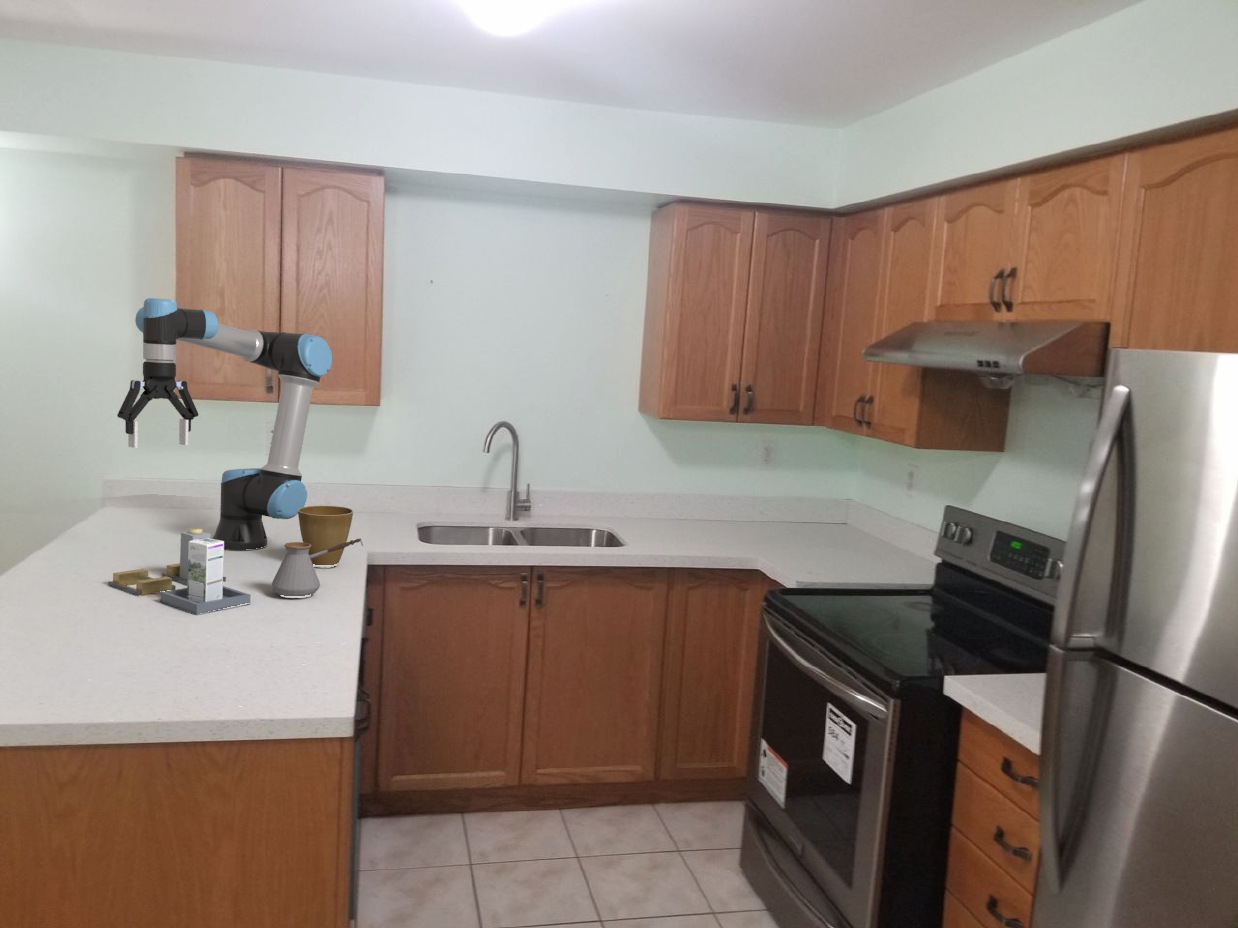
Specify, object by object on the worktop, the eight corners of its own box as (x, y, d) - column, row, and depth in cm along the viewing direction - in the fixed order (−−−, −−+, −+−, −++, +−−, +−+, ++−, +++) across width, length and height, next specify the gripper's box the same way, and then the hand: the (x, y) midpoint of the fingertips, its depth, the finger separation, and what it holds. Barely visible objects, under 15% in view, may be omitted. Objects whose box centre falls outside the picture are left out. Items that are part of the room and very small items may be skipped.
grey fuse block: (197, 576, 256) (198, 526, 255) (209, 579, 254) (210, 530, 252) (179, 578, 252) (181, 528, 251) (191, 582, 249) (193, 532, 248)
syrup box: (223, 600, 234) (225, 540, 232) (204, 605, 228) (207, 544, 227) (204, 596, 236) (206, 536, 234) (185, 601, 230) (187, 540, 229)
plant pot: (312, 557, 287) (314, 503, 286) (359, 563, 284) (362, 509, 283) (284, 567, 273) (287, 510, 271) (334, 574, 270) (337, 516, 268)
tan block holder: (146, 579, 249) (146, 568, 248) (175, 589, 242) (175, 577, 242) (108, 585, 241) (109, 573, 240) (137, 595, 234) (138, 583, 234)
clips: (196, 571, 260) (197, 560, 260) (225, 581, 254) (226, 569, 253) (162, 577, 252) (162, 565, 252) (191, 586, 246) (192, 575, 245)
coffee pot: (268, 600, 239) (271, 540, 237) (273, 589, 250) (276, 530, 248) (359, 602, 244) (363, 543, 242) (360, 591, 255) (364, 533, 253)
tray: (213, 592, 242) (214, 583, 242) (250, 604, 234) (250, 594, 234) (160, 602, 230) (160, 592, 230) (196, 615, 223) (197, 604, 223)
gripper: (195, 361, 259) (194, 442, 262) (101, 359, 238) (101, 446, 241) (213, 363, 255) (212, 445, 257) (119, 361, 234) (119, 450, 237)
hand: (158, 446), depth 249 cm, fingers open, 13 cm apart
